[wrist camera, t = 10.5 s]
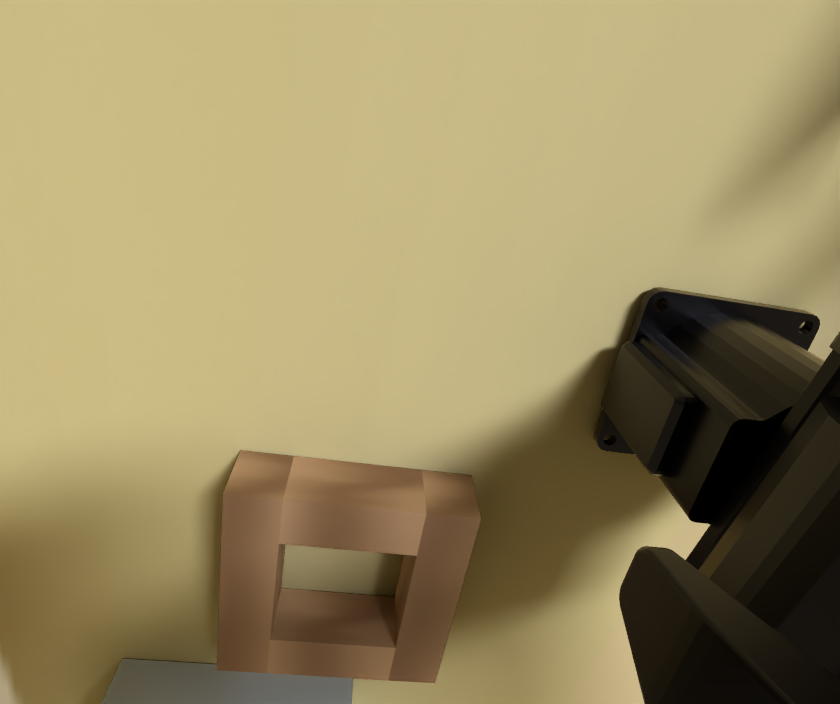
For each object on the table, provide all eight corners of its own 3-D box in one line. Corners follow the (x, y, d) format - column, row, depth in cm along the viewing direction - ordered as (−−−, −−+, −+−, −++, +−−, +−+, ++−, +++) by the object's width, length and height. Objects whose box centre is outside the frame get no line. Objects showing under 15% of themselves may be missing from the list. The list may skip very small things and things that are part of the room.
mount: (471, 475, 22) (481, 518, 20) (430, 631, 25) (434, 683, 23) (240, 450, 21) (222, 493, 18) (232, 616, 24) (216, 670, 22)
